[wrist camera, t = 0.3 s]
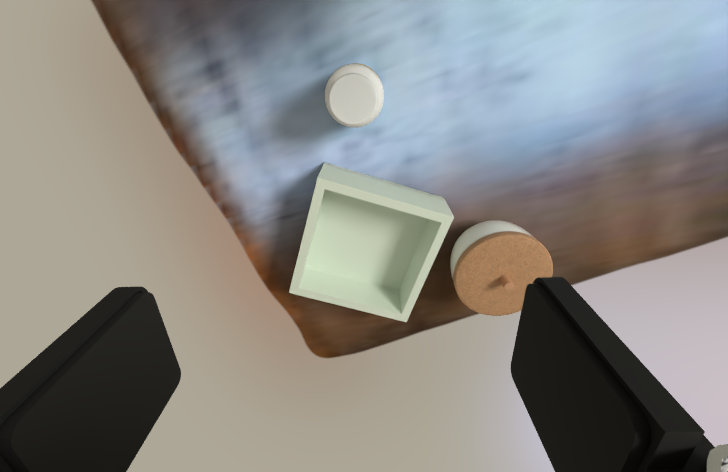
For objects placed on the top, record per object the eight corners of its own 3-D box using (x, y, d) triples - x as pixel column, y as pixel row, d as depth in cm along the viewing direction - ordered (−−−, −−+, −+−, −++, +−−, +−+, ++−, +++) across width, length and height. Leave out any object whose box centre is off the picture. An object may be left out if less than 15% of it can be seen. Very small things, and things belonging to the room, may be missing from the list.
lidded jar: (538, 254, 46) (576, 298, 38) (465, 292, 49) (485, 340, 41) (504, 190, 42) (537, 223, 34) (427, 235, 45) (439, 275, 37)
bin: (324, 162, 41) (317, 177, 36) (443, 197, 43) (454, 217, 38) (298, 266, 48) (288, 292, 42) (402, 293, 49) (406, 322, 44)
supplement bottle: (370, 125, 39) (370, 143, 31) (324, 105, 38) (311, 119, 30) (390, 75, 37) (396, 80, 28) (342, 54, 36) (333, 52, 27)
